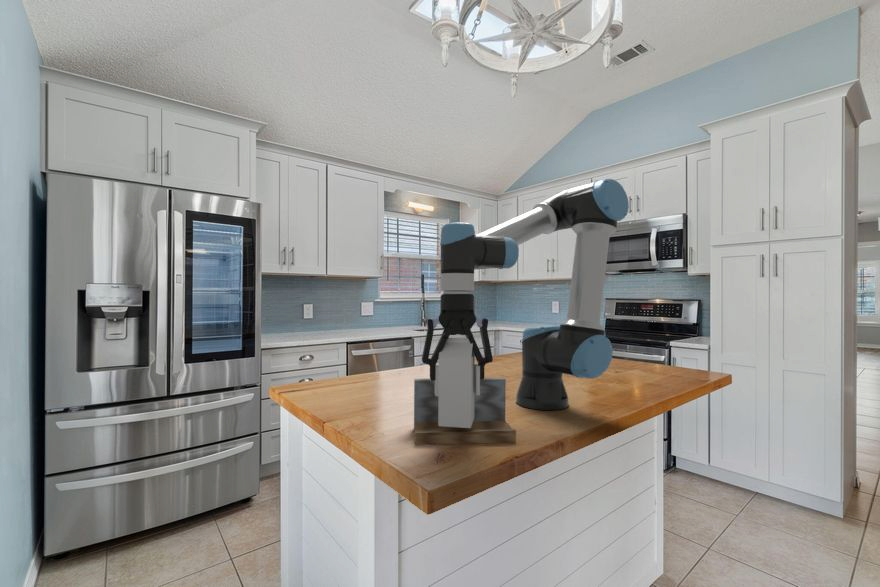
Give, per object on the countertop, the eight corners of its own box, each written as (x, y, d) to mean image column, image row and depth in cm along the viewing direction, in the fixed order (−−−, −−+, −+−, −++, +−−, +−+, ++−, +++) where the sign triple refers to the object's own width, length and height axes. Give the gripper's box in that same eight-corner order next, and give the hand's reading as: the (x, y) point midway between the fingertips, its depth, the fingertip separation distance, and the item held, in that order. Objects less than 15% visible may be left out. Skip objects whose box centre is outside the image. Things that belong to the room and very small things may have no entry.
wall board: (503, 426, 101) (503, 377, 101) (515, 442, 90) (516, 387, 90) (413, 428, 99) (414, 378, 99) (415, 445, 88) (416, 389, 88)
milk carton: (470, 429, 88) (471, 340, 88) (438, 426, 89) (438, 339, 89) (474, 419, 95) (474, 336, 95) (444, 417, 96) (444, 335, 96)
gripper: (499, 293, 97) (499, 389, 97) (409, 292, 94) (408, 391, 94) (508, 293, 89) (507, 397, 89) (410, 292, 87) (410, 400, 87)
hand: (457, 394), depth 92 cm, fingers closed on milk carton, 8 cm apart
